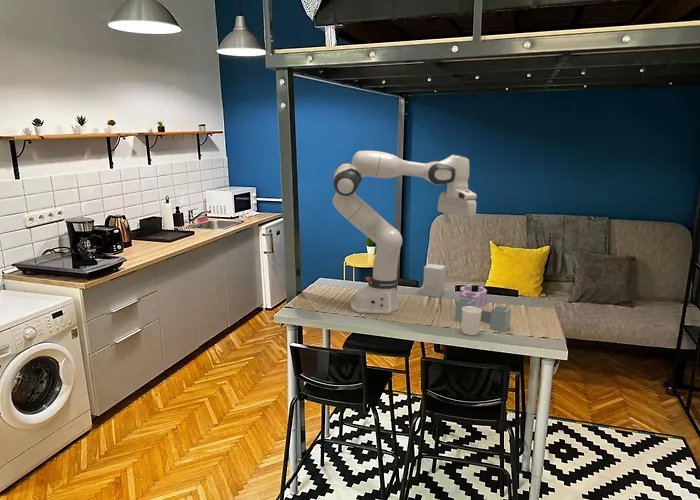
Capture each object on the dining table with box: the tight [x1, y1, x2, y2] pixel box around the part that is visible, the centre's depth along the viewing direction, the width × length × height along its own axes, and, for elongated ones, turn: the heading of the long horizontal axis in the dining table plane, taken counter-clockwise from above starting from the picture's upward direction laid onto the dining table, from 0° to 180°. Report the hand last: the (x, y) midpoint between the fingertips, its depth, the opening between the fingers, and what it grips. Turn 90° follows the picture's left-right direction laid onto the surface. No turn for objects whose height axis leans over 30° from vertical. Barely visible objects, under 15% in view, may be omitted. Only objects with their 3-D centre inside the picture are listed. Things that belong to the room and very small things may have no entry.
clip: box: [459, 283, 488, 308], centre depth 243 cm, size 20×12×7 cm, turn 158°
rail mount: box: [454, 297, 512, 333], centre depth 216 cm, size 8×22×9 cm, turn 53°
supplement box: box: [422, 263, 447, 298], centre depth 255 cm, size 9×9×15 cm
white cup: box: [461, 306, 482, 336], centre depth 206 cm, size 8×8×10 cm
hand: (454, 224), depth 219 cm, fingers open, 8 cm apart
